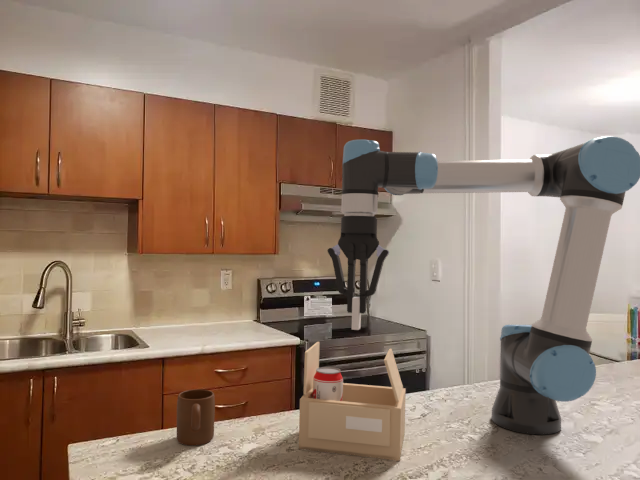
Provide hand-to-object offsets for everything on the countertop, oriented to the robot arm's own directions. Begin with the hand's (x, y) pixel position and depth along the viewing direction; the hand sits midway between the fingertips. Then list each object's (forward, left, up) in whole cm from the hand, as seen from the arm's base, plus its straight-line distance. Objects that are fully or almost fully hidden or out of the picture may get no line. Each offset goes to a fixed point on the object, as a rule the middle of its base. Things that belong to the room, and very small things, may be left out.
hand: (356, 328), depth 107 cm
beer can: (+6, +1, -25) cm, 26 cm away
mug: (+31, +10, -24) cm, 40 cm away
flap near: (-8, 0, -9) cm, 12 cm away
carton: (0, 0, -24) cm, 24 cm away
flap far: (+9, 0, -9) cm, 13 cm away
